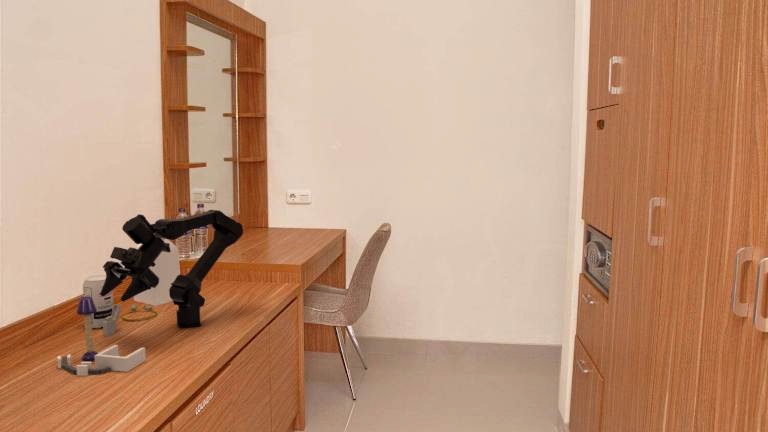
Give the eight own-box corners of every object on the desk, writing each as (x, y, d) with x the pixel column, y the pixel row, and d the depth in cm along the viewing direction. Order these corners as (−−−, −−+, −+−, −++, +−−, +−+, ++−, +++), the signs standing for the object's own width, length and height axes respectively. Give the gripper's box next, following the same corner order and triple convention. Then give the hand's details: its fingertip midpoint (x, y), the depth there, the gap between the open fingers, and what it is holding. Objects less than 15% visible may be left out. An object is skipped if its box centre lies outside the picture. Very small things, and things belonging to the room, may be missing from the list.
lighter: (108, 336, 177) (107, 310, 176) (103, 336, 177) (101, 309, 176) (122, 328, 184) (121, 303, 183) (117, 328, 184) (116, 303, 183)
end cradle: (115, 357, 160) (114, 344, 160) (145, 360, 158) (145, 347, 158) (95, 368, 152) (94, 355, 152) (127, 371, 151) (126, 358, 150)
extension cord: (168, 309, 206) (168, 303, 206) (147, 323, 191) (147, 317, 191) (134, 308, 207) (134, 302, 207) (110, 322, 192) (110, 316, 192)
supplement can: (91, 321, 191) (88, 275, 189) (118, 320, 191) (116, 275, 190) (80, 329, 183) (78, 281, 181) (108, 329, 183) (106, 281, 181)
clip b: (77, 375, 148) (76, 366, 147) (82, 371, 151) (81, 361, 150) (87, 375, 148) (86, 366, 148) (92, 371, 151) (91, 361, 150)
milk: (182, 298, 219) (180, 228, 215) (156, 305, 209) (153, 232, 205) (160, 293, 225) (157, 225, 221) (133, 300, 215) (130, 229, 212)
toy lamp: (78, 362, 156) (74, 300, 154) (81, 356, 161) (78, 295, 159) (98, 360, 158) (95, 299, 156) (101, 354, 162) (98, 294, 160)
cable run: (65, 359, 158) (65, 355, 158) (111, 371, 151) (111, 367, 151) (45, 366, 153) (45, 362, 153) (92, 379, 146) (91, 375, 146)
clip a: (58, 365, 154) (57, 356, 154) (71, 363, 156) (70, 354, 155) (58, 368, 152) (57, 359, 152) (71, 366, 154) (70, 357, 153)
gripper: (109, 233, 173) (72, 275, 165) (150, 239, 163) (113, 285, 155) (133, 257, 180) (98, 299, 172) (174, 265, 171) (139, 310, 162)
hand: (111, 298), depth 165 cm, fingers open, 9 cm apart
